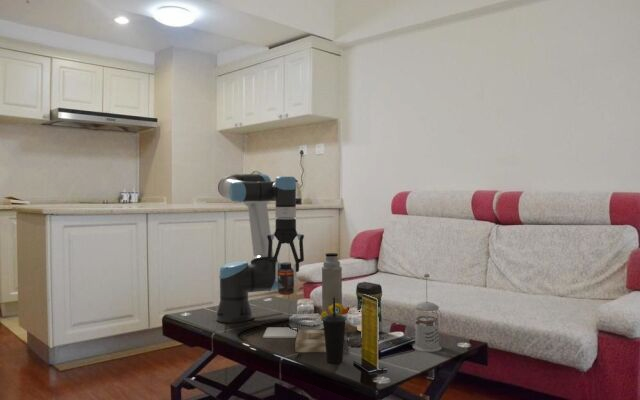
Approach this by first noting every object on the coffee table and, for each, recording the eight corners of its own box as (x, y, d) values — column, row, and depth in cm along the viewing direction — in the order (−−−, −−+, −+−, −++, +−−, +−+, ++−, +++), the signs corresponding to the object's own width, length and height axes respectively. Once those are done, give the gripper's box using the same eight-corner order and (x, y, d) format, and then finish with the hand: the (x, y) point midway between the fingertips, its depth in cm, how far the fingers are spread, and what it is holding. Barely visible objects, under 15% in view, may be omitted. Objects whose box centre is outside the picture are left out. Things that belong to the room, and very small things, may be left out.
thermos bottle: (323, 320, 209) (322, 252, 209) (342, 320, 208) (342, 252, 208) (321, 325, 201) (320, 254, 201) (341, 325, 200) (340, 254, 200)
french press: (406, 346, 173) (405, 273, 173) (428, 340, 180) (428, 269, 180) (428, 353, 165) (428, 277, 165) (451, 346, 173) (451, 273, 172)
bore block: (295, 352, 168) (295, 343, 168) (298, 338, 184) (298, 329, 184) (343, 352, 168) (343, 343, 168) (342, 337, 184) (342, 329, 184)
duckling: (351, 328, 197) (351, 302, 196) (347, 331, 192) (347, 305, 191) (323, 326, 200) (322, 300, 200) (319, 329, 195) (318, 303, 195)
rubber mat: (263, 338, 185) (263, 336, 185) (267, 328, 197) (267, 327, 197) (296, 338, 184) (296, 336, 184) (298, 328, 196) (298, 327, 196)
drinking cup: (318, 359, 161) (317, 296, 160) (340, 356, 164) (339, 294, 163) (328, 367, 154) (327, 301, 153) (351, 363, 157) (350, 298, 156)
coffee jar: (352, 331, 192) (352, 282, 192) (366, 327, 198) (366, 279, 197) (372, 336, 185) (371, 285, 185) (385, 332, 191) (385, 282, 190)
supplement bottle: (296, 292, 190) (296, 262, 190) (289, 295, 185) (289, 265, 184) (282, 291, 193) (282, 261, 192) (275, 294, 187) (275, 263, 187)
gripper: (258, 219, 184) (259, 282, 185) (311, 219, 183) (311, 282, 185) (261, 217, 191) (261, 278, 192) (311, 217, 191) (311, 278, 192)
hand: (285, 280), depth 188 cm, fingers closed on supplement bottle, 6 cm apart
